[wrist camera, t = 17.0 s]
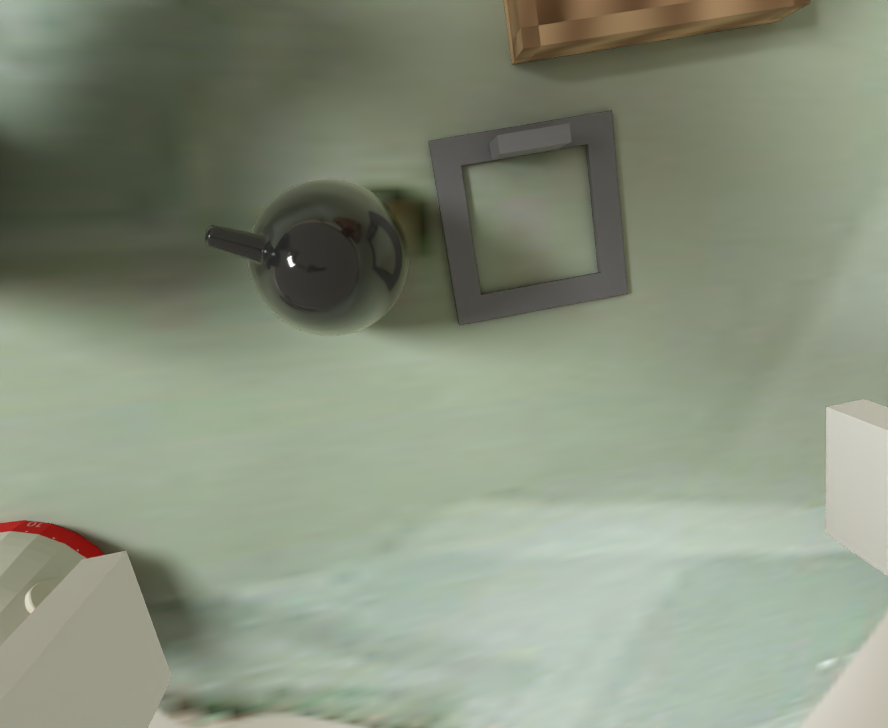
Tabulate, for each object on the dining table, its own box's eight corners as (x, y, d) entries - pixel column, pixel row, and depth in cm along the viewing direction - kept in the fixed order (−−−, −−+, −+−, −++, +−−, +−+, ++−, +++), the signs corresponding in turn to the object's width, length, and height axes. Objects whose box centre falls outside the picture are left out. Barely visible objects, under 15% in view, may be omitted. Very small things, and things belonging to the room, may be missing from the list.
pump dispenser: (284, 164, 38) (219, 120, 24) (423, 210, 40) (443, 195, 25) (251, 300, 40) (172, 338, 26) (385, 339, 42) (383, 395, 27)
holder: (458, 324, 42) (465, 331, 39) (428, 142, 39) (432, 132, 36) (624, 292, 43) (644, 297, 40) (608, 111, 40) (629, 100, 36)
